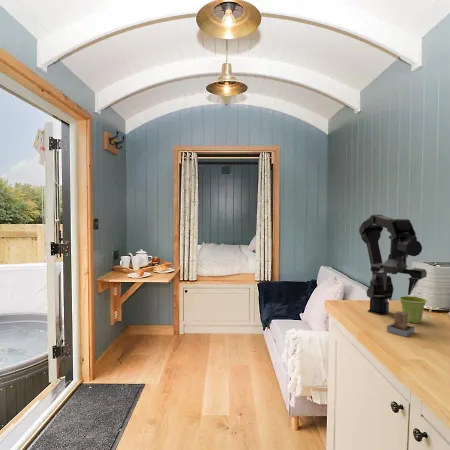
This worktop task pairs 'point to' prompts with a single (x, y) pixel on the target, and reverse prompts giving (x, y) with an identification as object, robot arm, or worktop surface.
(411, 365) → the worktop surface
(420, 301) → the plant pot
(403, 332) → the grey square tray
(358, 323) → the worktop surface
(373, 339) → the worktop surface
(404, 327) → the brown wooden block
